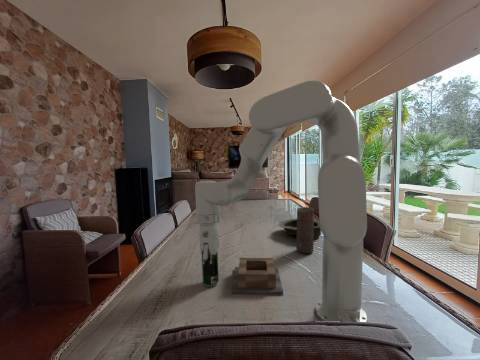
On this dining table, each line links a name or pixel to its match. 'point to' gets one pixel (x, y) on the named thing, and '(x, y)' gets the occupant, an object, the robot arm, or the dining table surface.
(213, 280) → the beer can
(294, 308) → the dining table surface
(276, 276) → the well block
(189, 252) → the dining table surface
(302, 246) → the brown cylinder
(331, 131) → the robot arm
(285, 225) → the stone bowl
